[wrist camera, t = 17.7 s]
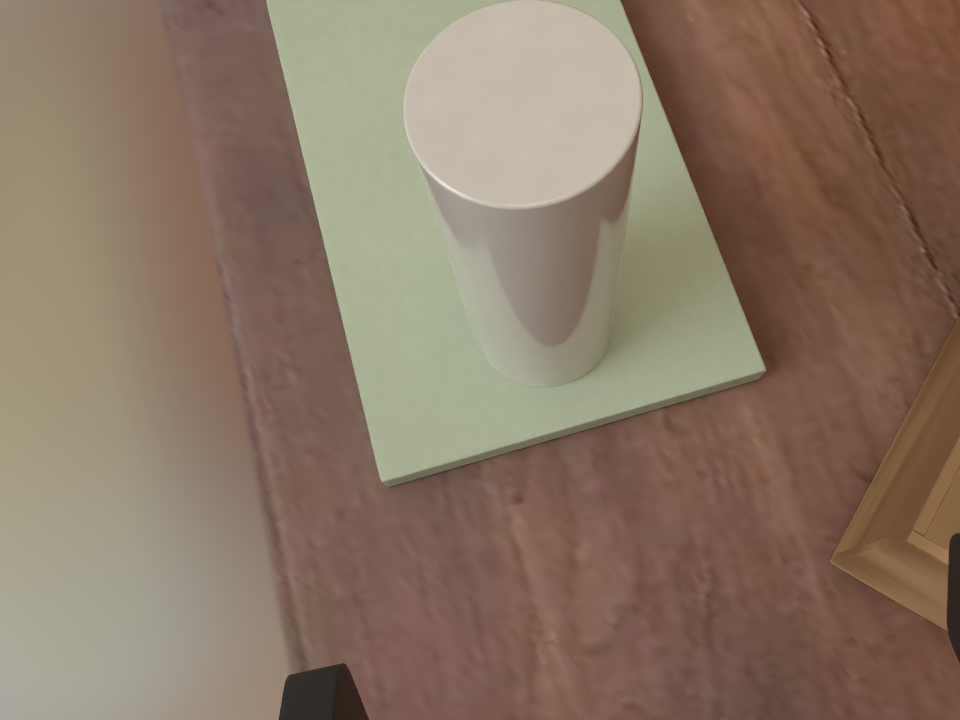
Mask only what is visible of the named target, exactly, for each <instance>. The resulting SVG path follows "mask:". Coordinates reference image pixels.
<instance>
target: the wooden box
mask: <svg viewBox="0 0 960 720" xmlns="http://www.w3.org/2000/svg"><path fill="white" fill-rule="evenodd" d="M956 533H960V315H959V317H958V319H957V321H956V323H955V324H954V326H953V328H952V330H951V332H950V334H949V336H948V338H947V340H946V341H945V343H944V345H943V347H942V349H941V351H940V353H939V355H938V357H937V359H936V360H935V362H934V364H933V366H932V368H931V370H930V372H929V374H928V376H927V378H926V379H925V381H924V383H923V385H922V387H921V389H920V391H919V393H918V395H917V396H916V398H915V400H914V402H913V404H912V406H911V408H910V410H909V412H908V414H907V415H906V417H905V419H904V421H903V423H902V425H901V427H900V429H899V431H898V432H897V434H896V436H895V438H894V440H893V442H892V444H891V446H890V448H889V450H888V451H887V453H886V455H885V457H884V459H883V461H882V463H881V465H880V467H879V469H878V470H877V472H876V474H875V476H874V478H873V480H872V482H871V484H870V486H869V487H868V489H867V491H866V493H865V495H864V497H863V499H862V501H861V503H860V505H859V506H858V508H857V510H856V512H855V514H854V516H853V518H852V520H851V522H850V524H849V525H848V527H847V529H846V531H845V533H844V535H843V537H842V539H841V541H840V542H839V544H838V546H837V548H836V550H835V552H834V554H833V556H832V558H831V560H830V563H831V564H832V565H834V566H836V567H837V568H839V569H841V570H843V571H844V572H846V573H848V574H849V575H851V576H853V577H855V578H856V579H858V580H860V581H862V582H863V583H865V584H867V585H868V586H870V587H872V588H874V589H875V590H877V591H879V592H880V593H882V594H884V595H886V596H887V597H889V598H891V599H892V600H894V601H896V602H898V603H899V604H901V605H903V606H904V607H906V608H908V609H910V610H911V611H913V612H915V613H917V614H918V615H920V616H922V617H923V618H925V619H927V620H929V621H930V622H932V623H934V624H935V625H937V626H939V627H941V628H942V629H944V630H946V631H947V632H948V629H947V590H948V564H949V544H950V540H951V538H952V536H953V535H954V534H956Z"/></svg>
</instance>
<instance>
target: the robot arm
mask: <svg viewBox="0 0 960 720" xmlns="http://www.w3.org/2000/svg"><path fill="white" fill-rule="evenodd" d="M947 629H948V633H949V637H950V641H951V643H952V646H953V649H954V651H955V654H956V656H957V658H958V660H959V662H960V533H956V534H954V535H953V536H952V538H951V540H950V544H949V564H948V590H947ZM281 704H282V705H281V710H280V716H279V720H369V719H368V716H367V713H366V711H365V708H364V706H363V703H362V701H361V698H360V696H359V693H358V690H357V688H356V685H355V683H354V680H353V678H352V675H351V673H350V670H349V669H348V667H347V666H346V664H344V663H342V664H337V665H333V666H328V667H324V668H319V669H314V670H310V671H305V672H300V673H296V674H291V675H289V676H288V677H287V679H286V682H285V686H284V691H283V697H282V703H281Z"/></svg>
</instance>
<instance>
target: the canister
mask: <svg viewBox="0 0 960 720" xmlns="http://www.w3.org/2000/svg"><path fill="white" fill-rule="evenodd" d="M642 110H643V90H642V84H641V78H640V75H639V72H638V69H637V66H636V64H635V62H634V60H633V58H632V56H631V54H630V52H629V51H628V49H627V48H626V46H625V45H624V44H623V42H622V41H621V39H620V38H619V37H618V36H617V35H616V34H615V33H614V32H613V31H612V30H611V29H610V28H608V27H607V26H606V25H605V24H604V23H602V22H601V21H600V20H598V19H596V18H595V17H593V16H591V15H590V14H588V13H586V12H584V11H581V10H579V9H577V8H575V7H571V6H568V5H565V4H562V3H557V2H552V1H546V0H513V1H506V2H500V3H496V4H492V5H488V6H485V7H483V8H480V9H478V10H475V11H473V12H471V13H469V14H467V15H465V16H463V17H461V18H459V19H458V20H456V21H455V22H453V23H452V24H450V25H449V26H447V27H446V28H445V29H444V30H442V31H441V32H440V33H439V34H438V35H437V36H436V37H435V38H434V39H433V40H432V41H431V42H430V43H429V44H428V45H427V46H426V48H425V49H424V51H423V52H422V53H421V55H420V56H419V58H418V59H417V61H416V63H415V65H414V67H413V69H412V71H411V74H410V76H409V79H408V82H407V84H406V89H405V93H404V99H403V123H404V128H405V133H406V137H407V140H408V143H409V146H410V149H411V152H412V155H413V158H414V161H415V164H416V167H417V170H418V173H419V176H420V179H421V182H422V184H423V187H424V190H425V193H426V196H427V199H428V202H429V205H430V208H431V211H432V214H433V217H434V220H435V223H436V226H437V229H438V232H439V235H440V238H441V241H442V244H443V246H444V249H445V252H446V255H447V258H448V261H449V264H450V267H451V270H452V273H453V276H454V279H455V282H456V285H457V288H458V291H459V294H460V297H461V300H462V303H463V306H464V308H465V311H466V314H467V317H468V320H469V323H470V326H471V329H472V332H473V335H474V338H475V341H476V343H477V346H478V348H479V350H480V352H481V354H482V356H483V357H484V358H485V360H486V361H487V362H488V364H489V365H490V366H491V367H492V368H493V369H494V370H496V371H497V372H498V373H499V374H501V375H502V376H504V377H506V378H507V379H509V380H511V381H514V382H516V383H518V384H522V385H526V386H531V387H554V386H559V385H563V384H567V383H569V382H572V381H574V380H576V379H578V378H580V377H582V376H583V375H585V374H586V373H587V372H589V371H590V370H591V369H592V368H593V367H594V366H596V365H597V363H598V362H599V361H600V360H601V359H602V357H603V356H604V354H605V352H606V351H607V349H608V347H609V345H610V342H611V340H612V336H613V332H614V325H615V318H616V310H617V302H618V294H619V287H620V279H621V271H622V264H623V256H624V248H625V241H626V233H627V225H628V218H629V210H630V202H631V195H632V187H633V179H634V171H635V164H636V156H637V148H638V141H639V133H640V125H641V118H642Z"/></svg>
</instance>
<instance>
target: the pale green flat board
mask: <svg viewBox="0 0 960 720" xmlns="http://www.w3.org/2000/svg"><path fill="white" fill-rule="evenodd" d="M506 1H513V0H266V2H267V6H268V11H269V15H270V19H271V23H272V27H273V32H274V36H275V40H276V44H277V48H278V52H279V57H280V61H281V65H282V69H283V73H284V78H285V82H286V86H287V90H288V94H289V99H290V103H291V107H292V111H293V115H294V119H295V124H296V128H297V132H298V136H299V140H300V145H301V149H302V153H303V157H304V161H305V166H306V170H307V174H308V178H309V182H310V187H311V191H312V195H313V199H314V203H315V207H316V212H317V216H318V220H319V224H320V228H321V233H322V237H323V241H324V245H325V249H326V254H327V258H328V262H329V266H330V270H331V274H332V279H333V283H334V287H335V291H336V295H337V300H338V304H339V308H340V312H341V316H342V321H343V325H344V329H345V333H346V337H347V341H348V346H349V350H350V354H351V358H352V362H353V367H354V371H355V375H356V379H357V383H358V388H359V392H360V396H361V400H362V404H363V408H364V413H365V417H366V421H367V425H368V429H369V434H370V438H371V442H372V446H373V450H374V455H375V459H376V463H377V467H378V471H379V475H380V480H381V482H382V483H383V484H385V485H386V486H387V487H391V486H395V485H398V484H401V483H405V482H408V481H412V480H415V479H419V478H422V477H425V476H429V475H432V474H436V473H439V472H443V471H446V470H449V469H453V468H456V467H460V466H463V465H467V464H470V463H474V462H477V461H480V460H484V459H487V458H491V457H494V456H498V455H501V454H504V453H508V452H511V451H515V450H518V449H522V448H525V447H528V446H532V445H535V444H539V443H542V442H546V441H549V440H553V439H556V438H559V437H563V436H566V435H570V434H573V433H577V432H580V431H583V430H587V429H590V428H594V427H597V426H601V425H604V424H607V423H611V422H614V421H618V420H621V419H625V418H628V417H631V416H635V415H638V414H642V413H645V412H649V411H652V410H656V409H659V408H662V407H666V406H669V405H673V404H676V403H680V402H683V401H686V400H690V399H693V398H697V397H700V396H704V395H707V394H710V393H714V392H717V391H721V390H724V389H728V388H731V387H735V386H738V385H741V384H745V383H748V382H752V381H755V380H759V379H760V378H761V377H762V375H763V374H764V373H765V371H766V367H765V365H764V362H763V360H762V357H761V354H760V352H759V349H758V347H757V344H756V342H755V339H754V337H753V334H752V332H751V329H750V327H749V324H748V322H747V319H746V317H745V314H744V311H743V309H742V306H741V304H740V301H739V299H738V296H737V294H736V291H735V289H734V286H733V284H732V281H731V279H730V276H729V274H728V271H727V268H726V266H725V263H724V261H723V258H722V256H721V253H720V251H719V248H718V246H717V243H716V241H715V238H714V236H713V233H712V230H711V228H710V225H709V223H708V220H707V218H706V215H705V213H704V210H703V208H702V205H701V203H700V200H699V198H698V195H697V193H696V190H695V187H694V185H693V182H692V180H691V177H690V175H689V172H688V170H687V167H686V165H685V162H684V160H683V157H682V155H681V152H680V150H679V147H678V144H677V142H676V139H675V137H674V134H673V132H672V129H671V127H670V124H669V122H668V119H667V117H666V114H665V112H664V109H663V107H662V104H661V101H660V99H659V96H658V94H657V91H656V89H655V86H654V84H653V81H652V79H651V76H650V74H649V71H648V69H647V66H646V63H645V61H644V58H643V56H642V53H641V51H640V48H639V46H638V43H637V41H636V38H635V36H634V33H633V31H632V28H631V26H630V23H629V20H628V18H627V15H626V13H625V10H624V8H623V5H622V3H621V0H546V1H552V2H557V3H562V4H565V5H568V6H571V7H575V8H577V9H579V10H581V11H584V12H586V13H588V14H590V15H591V16H593V17H595V18H596V19H598V20H600V21H601V22H602V23H604V24H605V25H606V26H607V27H608V28H610V29H611V30H612V31H613V32H614V33H615V34H616V35H617V36H618V37H619V38H620V39H621V41H622V42H623V44H624V45H625V46H626V48H627V49H628V51H629V52H630V54H631V56H632V58H633V60H634V62H635V64H636V66H637V69H638V72H639V75H640V78H641V84H642V90H643V110H642V118H641V125H640V133H639V141H638V148H637V156H636V164H635V171H634V179H633V187H632V195H631V202H630V210H629V218H628V225H627V233H626V241H625V248H624V256H623V264H622V271H621V279H620V287H619V294H618V302H617V310H616V318H615V325H614V332H613V336H612V340H611V342H610V345H609V347H608V349H607V351H606V352H605V354H604V356H603V357H602V359H601V360H600V361H599V362H598V363H597V365H596V366H594V367H593V368H592V369H591V370H590V371H589V372H587V373H586V374H585V375H583V376H582V377H580V378H578V379H576V380H574V381H572V382H569V383H567V384H563V385H559V386H554V387H531V386H526V385H522V384H518V383H516V382H514V381H511V380H509V379H507V378H506V377H504V376H502V375H501V374H499V373H498V372H497V371H496V370H494V369H493V368H492V367H491V366H490V365H489V364H488V362H487V361H486V360H485V358H484V357H483V356H482V354H481V352H480V350H479V348H478V346H477V343H476V341H475V338H474V335H473V332H472V329H471V326H470V323H469V320H468V317H467V314H466V311H465V308H464V306H463V303H462V300H461V297H460V294H459V291H458V288H457V285H456V282H455V279H454V276H453V273H452V270H451V267H450V264H449V261H448V258H447V255H446V252H445V249H444V246H443V244H442V241H441V238H440V235H439V232H438V229H437V226H436V223H435V220H434V217H433V214H432V211H431V208H430V205H429V202H428V199H427V196H426V193H425V190H424V187H423V184H422V182H421V179H420V176H419V173H418V170H417V167H416V164H415V161H414V158H413V155H412V152H411V149H410V146H409V143H408V140H407V137H406V133H405V128H404V123H403V99H404V93H405V89H406V84H407V82H408V79H409V76H410V74H411V71H412V69H413V67H414V65H415V63H416V61H417V59H418V58H419V56H420V55H421V53H422V52H423V51H424V49H425V48H426V46H427V45H428V44H429V43H430V42H431V41H432V40H433V39H434V38H435V37H436V36H437V35H438V34H439V33H440V32H441V31H442V30H444V29H445V28H446V27H447V26H449V25H450V24H452V23H453V22H455V21H456V20H458V19H459V18H461V17H463V16H465V15H467V14H469V13H471V12H473V11H475V10H478V9H480V8H483V7H485V6H488V5H492V4H496V3H500V2H506Z"/></svg>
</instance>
